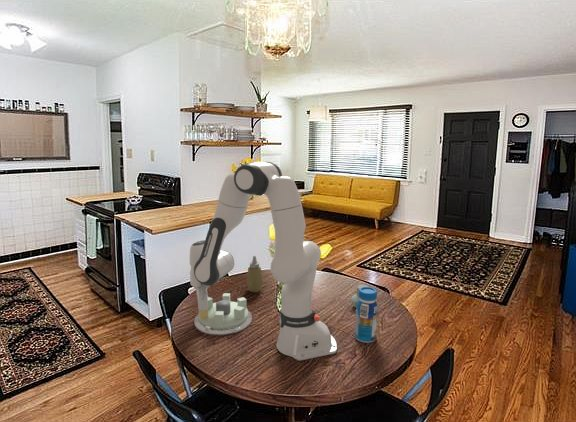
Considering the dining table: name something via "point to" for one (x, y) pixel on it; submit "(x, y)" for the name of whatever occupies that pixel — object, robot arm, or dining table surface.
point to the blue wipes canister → (366, 315)
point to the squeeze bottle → (254, 276)
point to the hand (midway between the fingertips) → (202, 310)
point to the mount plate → (225, 331)
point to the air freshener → (356, 296)
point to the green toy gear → (224, 313)
